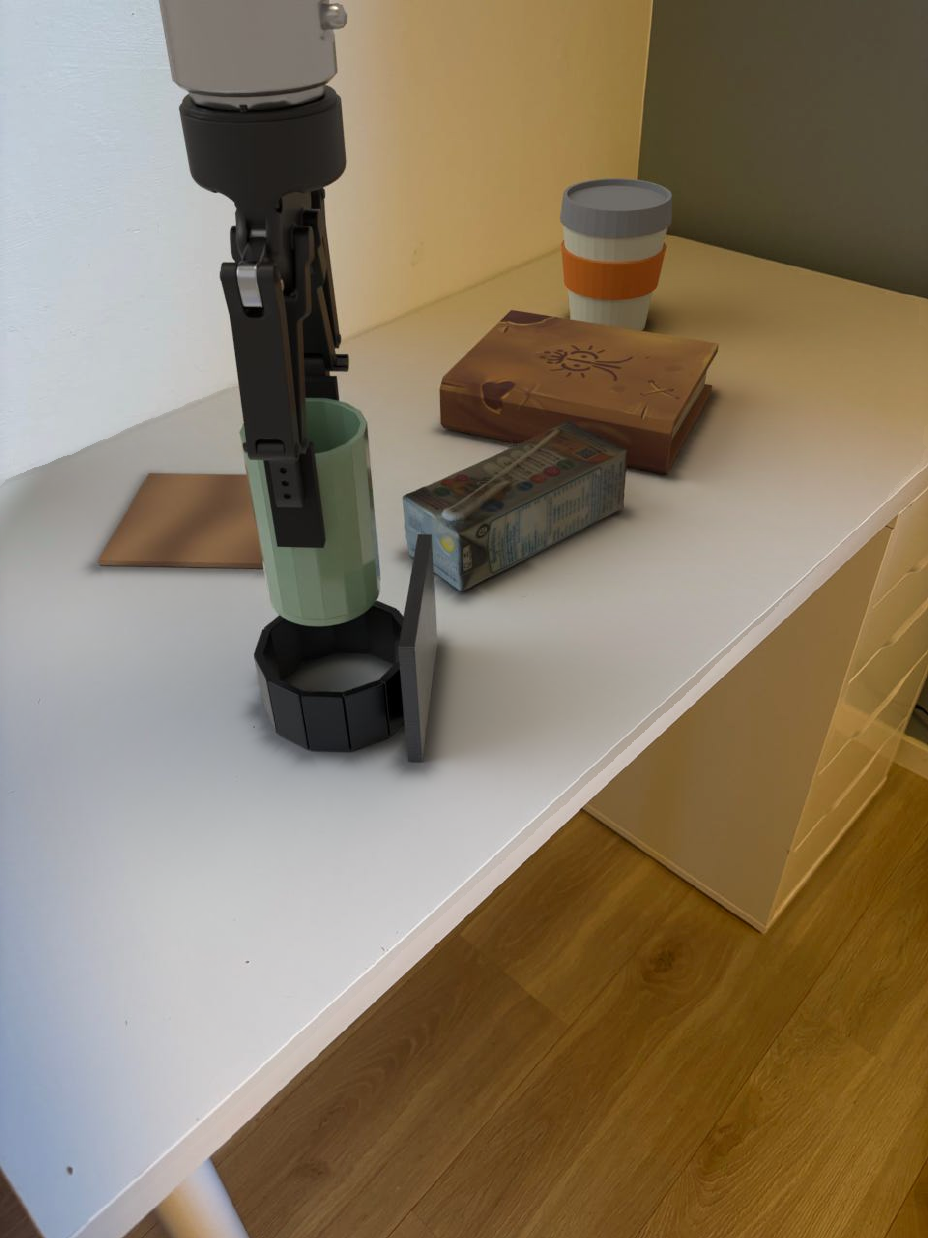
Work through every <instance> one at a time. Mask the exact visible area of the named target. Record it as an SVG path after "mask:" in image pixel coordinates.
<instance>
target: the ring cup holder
mask: <svg viewBox="0 0 928 1238" xmlns="http://www.w3.org/2000/svg"><path fill="white" fill-rule="evenodd" d="M435 585H436V584H435V572H434V565H433V546H432V534H418V535H417V541H416V547H415V553H414V558H412V565H411V571H410V576H409V583H408V588H407V593H406V594H407V595H406V600H405V605H404V612H403V614H402V612H400V610H399V609H398V608H396V607H394V606H392V605H389V604H387V603H384V602H382V601H380V600H378V599H377V600H376V602H375V603H374V604H373V606H372V607H371V608H370V609H369V610H367V611H366V612H365V613H363V614H362V615H360V616H358V617H356V618H354V619H352V620H349V621H347V622H344V623H340V624H335V625H329V626H307V625H301V624H297V623H294V622H291V621H288V620H287V619H285V618H283V617H282V616H280V615H279V614H278V616H276V617H275V618H274V619H273V620H272V621H270V622H269V623H267V624H266V625H265V626H264V627H263V628H262V629H261V633H260V635H259V638H258V641H257V643H256V647H255V650H254V653H253V658H254V663H255V669H256V673H257V679H258V683H259V688H260V694H261V697H262V698H261V699H262V703H263V707H264V711H265V713H266V715H267V717H268V719H269V721H270V723H271V725H272V727H273V729H274V731H275V733H276V734H277V735H278V736H280V737H282V738H284V739H286V740H287V741H290V742H292V743H294V744H296V745H297V746H300V747H301V748H303V749H305V750H309V751H310V752H311V751H315V752H339V753H340V752H346V753H350V751H351V752H354V751H357V750H360V749H362V748H365V747H368V746H370V745H373V744H376V743H378V742H382V741H384V740H387V739H389V737H392V736H393V735H394V734H395V733H396V732H397V731H398V730H399V729H400V728H401V727H402V726H403V725H404V734H405V735H404V736H405V746H406V759H407V760H406V761H407V762H412V763H413V762H414V763H417V762H419V763H422V762H423V760H424V754H425V753H424V752H425V745H426V737H427V729H428V720H429V713H430V705H431V704H430V703H431V697H432V689H433V682H434V673H435V666H436V659H437V658H436V657H437V652H438V651H437V650H438V630H437V629H438V628H437V612H436V611H437V608H436V607H437V606H436V590H435V589H436V587H435ZM335 653H349V654H350V653H351V654H352V653H353V654H369V655H372V656H375V657H376V658H379V659H381V660H384V661H386V662H388V663H391V664H393V665H392V666H391V668H389V669H388V670H387V671H386V672H385V673H384V674H383V675H382V676H381V677H380V678H379V679H376V680H374V681H371V682H367V683H365V684H361V685H359V686H356V687H353V688H350V689H348V690H344V691H326V690H325V691H320V690H303V689H300V688H298V687H296V686H294V685H292V684H290V683H288V682H286V681H285V679H287V677H288V676H290V675H291V674H292V673H293V672H294V671H295V670H297V669H298V668H299V667H300V666H301V665H303V664H304V663H307V662H310V661H314V660H316V659H319V658H323V657H327V656H329V655H331V654H335Z"/></svg>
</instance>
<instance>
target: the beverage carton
mask: <svg viewBox="0 0 928 1238" xmlns="http://www.w3.org/2000/svg"><path fill="white" fill-rule="evenodd" d="M626 458H627V451H626V449H625V448H623V447H620V446H618V445H615V444H613V443H611V442H609V441H607V440H604V439H603V438H602V437H600V436H599V435H596V434H594V433H592V432H589V431H587V430H584V429H582V428H581V427H579V426H578V425H575V424H573V423H571V422H570V421H567V422H566V423H564V424H562V425H559V426H557V427H554V428H552V429H550V430H548V431H546V432H544V433H542V434H540V435H537V436H535V437H533V438H531V439H529V440H526V441H524V442H522V443H520V444H518V443H516V444H515V445H514V446H512V447H509V448H507V449H505V450H503V451H500V452H499V453H496V454H494V455H492V456H490V457H489V458H486V459H483V460H481V461H478V462H477V463H474V464H472V465H470V466H468V467H465V468H464V469H461V470H459V471H456V472H454V473H452V474H449V475H448V476H445V477H444V478H441V479H439V480H436V481H435V482H432V483H431V484H428V485H424V486H421V487H420V488H417V489H416V490H414V491H411V492H408V493H406V494H404V495H403V496H402V497H401V499H402V509H403V513H404V514H403V517H404V523H403V525H404V526H403V527H404V537H405V540H406V546H407V553H408V555H409V556H410V557H411V558H412V559H414V553H415V547H416V541H417V535H418V534H432V546H433V565H434V574H436V575H437V576H439V577H440V578H442V579H443V580H445V581H446V582H447V583H448V584H449V585H451V586H452V587H453V588H454V589H457V591H459V592H464V591H465V590H468V589H470V588H472V587H473V586H475V585H478V584H479V583H481V582H483V581H485V580H487V579H488V578H489V579H490V578H491V577H493V576H495V575H498V574H500V573H502V572H504V571H505V570H508V569H509V568H512V567H513V566H516V565H517V564H519V563H521V562H522V561H525V560H526V559H528V558H530V557H532V556H534V555H535V554H538V553H540V552H542V551H543V550H546V549H547V548H549V547H551V546H553V545H555V544H557V543H558V542H560V541H562V540H564V539H566V538H568V537H569V536H572V535H574V534H575V533H577V532H579V531H581V530H583V529H585V528H587V527H589V526H591V525H593V524H595V523H596V522H599V521H600V520H602V519H604V518H607V517H608V516H610V515H613V514H614V513H617V512H618V511H620V510H623V509H624V506H625V490H626V489H625V488H626V474H627V466H626V463H627V460H626Z"/></svg>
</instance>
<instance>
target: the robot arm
mask: <svg viewBox="0 0 928 1238" xmlns="http://www.w3.org/2000/svg"><path fill="white" fill-rule="evenodd" d="M158 5H159V10H160V15H161V22H162V27H163V33H164V39H165V45H166V50H167V56H168V63H169V67H170V73H171V79H172V81H173V82H174V84H175V85H176V86H177V87H178V88H180V89H181V90H184V91H186V92H187V93H188V94H186V95H185V96H184V97H183V99H182V100H181V103H180V104H179V106H178V110H179V118H180V123H181V128H182V135H183V139H184V146H185V151H186V157H187V162H188V167H189V173H190V176H191V178H192V179H193V181H194V182H195V183H196V184H197V185H198V186H199V187H201V188H202V189H203V190H205V191H208V192H210V193H213V194H220V195H223V196H225V197H226V198H228V199H229V200H230V201H231V202H233V204H234V207H235V211H234V219H235V225H231V227H230V230H229V243H230V255H231V259H232V260H233V261H230V262H229V261H228V262H227V261H223V262H222V263H221V265H220V270H219V280H220V282H221V287H222V291H223V295H224V299H225V304H226V306H227V310H228V315H229V321H230V329H231V337H232V342H233V343H232V344H233V351H234V360H235V367H236V375H237V383H238V391H239V398H240V407H241V413H242V422H243V423H244V430H245V438H246V442H244V443H243V449H244V452H245V453H248V457H249V459H250V460H263V463H264V469H265V475H266V481H267V488H268V494H269V500H270V506H271V512H272V518H273V524H274V530H275V536H276V542H277V547H300V548H324V545H325V541H326V539H325V531H324V523H323V515H322V507H321V499H320V491H319V483H318V475H317V467H316V459H315V451H314V443H313V442H309V441H308V438H307V424H306V399H305V398H328V399H333V400H337V401H340V392H339V382H338V375H331V372H333V373H337V372H339V373H348V372H349V367H350V358H349V353H337V351H336V349H340V345H341V343H342V334H341V331H340V325H339V318H338V317H339V316H338V310H337V309H338V308H337V301H336V294H335V293H336V292H335V286H334V278H333V270H332V269H333V268H332V262H331V255H330V247H329V240H328V239H329V238H328V232H327V222H326V205H325V204H326V203H325V199H326V189H325V188H326V187H328V186H330V185H331V184H334V183H335V182H337V181H338V180H339V179H340V178H341V177H342V176H343V175H344V174H345V171H346V168H347V163H348V160H347V149H346V138H345V125H344V114H343V104H342V103H343V102H342V96H340V95H339V94H337V91H336V90H335V89H334V88H333V87H332V86H329V85H327V84H328V83H330V81H332V79H334V78H335V76H336V75H337V74H338V69H339V68H338V60H337V47H336V46H337V45H336V34H335V32H334V30H340V29H344V28H345V26H346V25H347V24H348V14H347V11H346V9H345V7H344V5H343V4H340V3H338V2H336V3H330V0H158Z"/></svg>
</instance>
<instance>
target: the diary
mask: <svg viewBox="0 0 928 1238" xmlns="http://www.w3.org/2000/svg"><path fill="white" fill-rule="evenodd" d="M719 347H720V343H719V342H713V341H706V340H700V339H694V338H687V337H681V336H675V335H669V334H662V333H656V332H650V331H645V330H642V331H639V330H633V329H627V328H621V327H614V326H608V325H602V324H596V323H590V322H584V321H577V320H571V319H570V318H565V317H557V316H551V315H546V314H539V313H535V312H534V313H533V312H527V311H523V310H522V311H521V310H515V309H511V310H509V311H508V312H507V313H506V314H505V315H504V316H503V317H502V318H501V319H500V320H499V321H498V322H497V323H496V324H495V325H494V326H493V327H492V328H491V329H490V330H489V331H488V332H487V333H486V334H485V335H484V336H483V337H482V338H481V339H480V340H478V341H477V342H476V344H475V345H474V346H473V347H472V348H470V350H469V351H468V352H466V354H465V355H463V357H462V358H461V359H459V360H458V361H457V362H456V363H455V364H454V365H453V366H452V367H451V368H450V369H449V370H448V371H447V372H446V373H445V374H444V375H443V376H442V379H441V382H440V385H439V418H440V420H439V421H440V422H439V424H440V425H441V426H442V428H443V429H447V430H452V431H456V432H459V433H460V432H461V433H466V434H469V435H470V434H471V435H474V436H475V435H476V436H480V437H484V438H490V439H494V440H499V441H504V442H507V443H512V444H513V443H514V444H520V443H522V442H524V441H526V440H529V439H531V438H533V437H535V436H537V435H540V434H542V433H544V432H546V431H548V430H550V429H552V428H554V427H557V426H559V425H562V424H564V423H566V422H567V421H570V422H571V423H573V424H575V425H578V426H579V427H581V428H582V429H584V430H587V431H589V432H592V433H594V434H596V435H599V436H600V437H602V438H603V439H604V440H607V441H609V442H611V443H613V444H615V445H618V446H620V447H623V448H625V449H626V451H627V458H626V460H627V463H626V467H629V468H633V469H638V470H642V471H643V470H644V471H648V472H652V473H657V474H662V475H668V473H669V471H670V469H671V467H672V466H673V464H674V462H675V460H676V458H677V457H678V455H679V453H680V451H681V449H682V447H683V446H684V444H685V442H686V441H687V438H688V436H689V434H690V432H691V431H692V429H693V427H694V425H695V423H696V422H697V420H698V418H699V416H700V414H701V413H702V412H703V411H702V410H703V409H704V407H705V405H706V403H707V401H708V400H709V398H710V396H711V394H712V390H713V385H712V384H707V383H706V378H707V374H708V373H707V372H708V370H709V368H710V366H711V364H712V363H713V362H714V359H715V357H716V356H717V354H718V353H719Z"/></svg>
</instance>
